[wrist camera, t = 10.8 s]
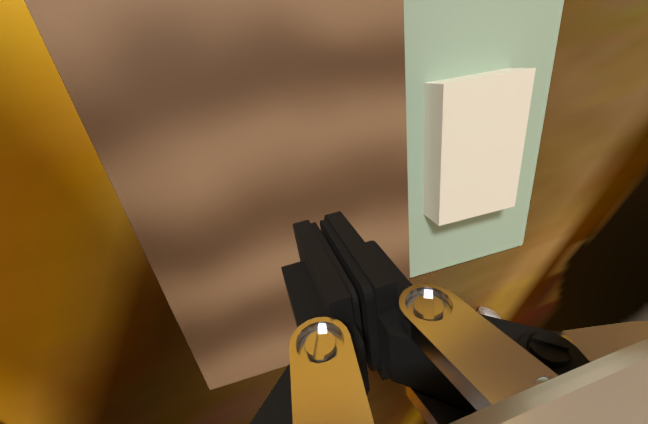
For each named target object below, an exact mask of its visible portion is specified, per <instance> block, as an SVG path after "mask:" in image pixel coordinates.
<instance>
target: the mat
mask: <svg viewBox="0 0 648 424" xmlns="http://www.w3.org/2000/svg"><path fill="white" fill-rule="evenodd" d="M563 3H564V0H404V39H405V83H406V127H407V171H408V215H409V259H410V278H411V277H415V276H418V275H421V274H425V273H428V272H432V271H435V270H439V269H442V268H445V267H449V266H452V265H456V264H459V263H463V262H466V261H469V260H473V259H476V258H480V257H483V256H486V255H490V254H493V253H497V252H500V251H504V250H507V249H510V248H514V247H517V246H521V245H523V240H524V234H525V228H526V222H527V216H528V210H529V204H530V198H531V192H532V186H533V181H534V175H535V169H536V163H537V157H538V151H539V145H540V139H541V133H542V127H543V121H544V116H545V110H546V104H547V98H548V92H549V86H550V80H551V74H552V68H553V62H554V56H555V50H556V45H557V39H558V33H559V27H560V21H561V15H562V9H563ZM507 68H536V71H535V77H534V84H533V91H532V97H531V104H530V110H529V117H528V123H527V130H526V136H525V143H524V150H523V156H522V163H521V169H520V176H519V182H518V189H517V195H516V202H515V206H514V207H510V208H506V209H502V210H498V211H495V212H491V213H487V214H483V215H479V216H475V217H472V218H468V219H464V220H460V221H456V222H452V223H449V224H445V225H441V226H438V225H437V224H436V223H434V222H433V221H432V220H430V219H429V218H428V217H427V216H425V215H424V214H423V192H424V83H427V82H433V81H438V80H444V79H450V78H456V77H461V76H467V75H473V74H478V73H484V72H490V71H496V70H501V69H507Z"/></svg>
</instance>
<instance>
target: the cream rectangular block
mask: <svg viewBox="0 0 648 424" xmlns="http://www.w3.org/2000/svg"><path fill="white" fill-rule="evenodd" d="M535 71H536V68H507V69H501V70H496V71H490V72H484V73H478V74H473V75H467V76H461V77H456V78H450V79H444V80H438V81H433V82H427V83H424V192H423V214H424V215H425V216H427V217H428V218H429V219H430V220H432V221H433V222H434V223H436V224H437V225H438V226H441V225H445V224H449V223H452V222H456V221H460V220H464V219H468V218H472V217H475V216H479V215H483V214H487V213H491V212H495V211H498V210H502V209H506V208H510V207H514V206H515V202H516V195H517V189H518V182H519V176H520V169H521V163H522V156H523V150H524V143H525V136H526V130H527V123H528V117H529V110H530V104H531V97H532V91H533V84H534V77H535Z"/></svg>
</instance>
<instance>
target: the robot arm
mask: <svg viewBox="0 0 648 424" xmlns="http://www.w3.org/2000/svg"><path fill="white" fill-rule="evenodd" d="M320 228H321V230H320V229H319V227H318V225H317V223H316V222H313V223H310V221H309V220H304V221H301V222H297V223H293V230H294V234H295V239H296V244H297V248H298V253H299V257H300V262H296V263H293V264H290V265H286V266H283V267H281V269H282V273H283V277H284V281H285V285H286V289H287V293H288V296H289V300H290V304H291V307H292V311H293V314H294V318H295V321H296V325H297V329H296V330H295V331H294V333H293V335H292V337H291V339H290V344H289V357H290V364H289V365H288V367H287V368H286V370H285V371H284V373H283V374H282V376H281V377H280V379H279V380H278V382H277V384H276V385H275V387H274V388H273V390H272V391H271V393H270V394H269V396H268V397H267V399H266V400H265V402H264V403H263V405H262V406H261V408H260V409H259V411H258V412H257V414H256V415H255V417H254V418H253V420H252V421H251V423H250V424H374V421H373V417H372V414H371V410H370V406H369V402H368V399H367V394H368V391H369V381H368V372H367V364H368V366H369V368H370V370H371V371H375V370H378V372H379V374H380V376H381V378H382V380H386V379H388V378H391V380H392V381H394V382H397V383H400V384H402V387H403V389H404V391H405V393H406V395H407V396H408V398H409V399H410V400H411V402H412V403H413V404H414V406H415V407H416V408H417V410H418V411H419V412H420V414H421V415H422V416H423V418H424V419H425V420H426V422H427V423H428V424H648V322H647V321H633V322H625V323H618V324H610V325H603V326H595V327H588V328H580V329H573V330H565V331H562V334H561V336H560V335H558V334H556V333H553V332H550V331H547V330H543V329H539V328H535V327H531V326H527V325H523V324H519V323H515V322H511V321H507V320H503V319H499V318H495V317H490V316H486V315H482V314H479V313H478V312H476V311H475V310H474V309H472V308H471V307H470V306H469V305H467V304H466V303H465V302H463V301H462V300H461V299H460V298H458V297H457V296H456V295H454V294H453V293H452V292H450V291H449V290H447V289H445V288H444V287H441V286H438V285H435V284H428V283H422V284H415V285H412V284H411V283H410V281H409V280H408V279H407V278H406V277H405V276H404V274H403V273H402V272H401V271H400V270H399V269H398V267H397V266H396V265H395V264H394V263H393V261H392V260H391V259H390V258H389V257H388V256H387V254H386V253H385V252H384V251H383V250H382V249H381V247H380V246H379V245H378V244H377V243H376V242H375V241H373V240H371V241H368V242H365V241H364V240H363V239H362V237H361V236H360V235H359V234H358V232H357V231H356V230H355V229H354V227H353V226H352V225H351V224H350V222H349V221H348V220H347V219H346V217H345V216H344V215H343V214H342V212H341V211H338V212H334V213H331V214H327V215H325V216H324V220H321V221H320ZM366 362H367V363H366Z"/></svg>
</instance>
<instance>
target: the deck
mask: <svg viewBox="0 0 648 424" xmlns="http://www.w3.org/2000/svg"><path fill="white" fill-rule="evenodd" d="M24 1H25V3H26V5H27V7H28V9H29V12H30V14H31V16H32V18H33V20H34V22H35V24H36V26H37V28H38V30H39V33H40V35H41V37H42V39H43V41H44V43H45V45H46V47H47V49H48V51H49V54H50V56H51V58H52V60H53V62H54V64H55V66H56V68H57V70H58V72H59V74H60V77H61V79H62V81H63V83H64V85H65V87H66V89H67V91H68V93H69V95H70V98H71V100H72V102H73V104H74V106H75V108H76V110H77V112H78V114H79V116H80V119H81V121H82V123H83V125H84V127H85V129H86V131H87V133H88V135H89V137H90V140H91V142H92V144H93V146H94V148H95V150H96V152H97V154H98V156H99V158H100V160H101V163H102V165H103V167H104V169H105V171H106V173H107V175H108V177H109V179H110V181H111V184H112V186H113V188H114V190H115V192H116V194H117V196H118V198H119V200H120V202H121V205H122V207H123V209H124V211H125V213H126V215H127V217H128V219H129V221H130V223H131V226H132V228H133V230H134V232H135V234H136V236H137V238H138V240H139V242H140V244H141V246H142V249H143V251H144V253H145V255H146V257H147V259H148V261H149V263H150V265H151V267H152V270H153V272H154V274H155V276H156V278H157V280H158V282H159V284H160V286H161V288H162V291H163V293H164V295H165V297H166V299H167V301H168V303H169V305H170V307H171V309H172V312H173V314H174V316H175V318H176V320H177V322H178V324H179V326H180V328H181V330H182V332H183V335H184V337H185V339H186V341H187V343H188V345H189V347H190V349H191V351H192V353H193V356H194V358H195V360H196V362H197V364H198V366H199V368H200V370H201V372H202V374H203V377H204V379H205V381H206V383H207V385H208V387H209V389H210V390H212V389H215V388H218V387H222V386H225V385H228V384H231V383H234V382H237V381H240V380H243V379H247V378H250V377H253V376H256V375H259V374H262V373H265V372H268V371H272V370H275V369H278V368H281V367H284V366H287V365H289V364H290V357H289V344H290V339H291V337H292V335H293V333H294V331H295V330H296V329H297V325H296V321H295V318H294V314H293V311H292V307H291V304H290V300H289V296H288V293H287V289H286V285H285V281H284V277H283V273H282V269H281V267H283V266H286V265H290V264H293V263H296V262H300V257H299V253H298V248H297V244H296V239H295V234H294V230H293V223H297V222H301V221H304V220H309V221H310V223H313V222H316V223H317V225H318V227H319V229H320V230H321V228H320V221H321V220H324V216H325V215H327V214H331V213H334V212H338V211H341V212H342V214H343V215H344V216H345V217H346V219H347V220H348V221H349V222H350V224H351V225H352V226H353V227H354V229H355V230H356V231H357V232H358V234H359V235H360V236H361V237H362V239H363V240H364V241H365V242H368V241H371V240H373V241H375V242H376V243H377V244H378V245H379V246H380V247H381V249H382V250H383V251H384V252H385V253H386V254H387V256H388V257H389V258H390V259H391V260H392V261H393V263H394V264H395V265H396V266H397V267H398V269H399V270H400V271H401V272H402V273H403V274H404V276H405V277H406V278H407V279H408V280H409V281H410V259H409V215H408V171H407V127H406V83H405V39H404V0H24Z"/></svg>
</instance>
